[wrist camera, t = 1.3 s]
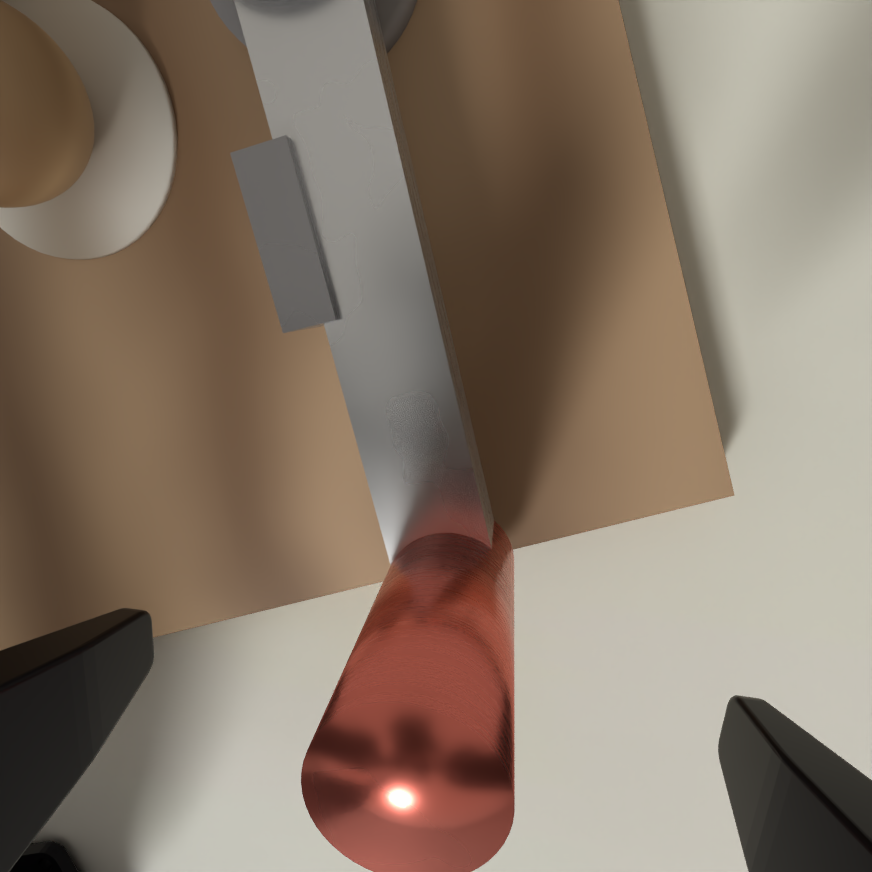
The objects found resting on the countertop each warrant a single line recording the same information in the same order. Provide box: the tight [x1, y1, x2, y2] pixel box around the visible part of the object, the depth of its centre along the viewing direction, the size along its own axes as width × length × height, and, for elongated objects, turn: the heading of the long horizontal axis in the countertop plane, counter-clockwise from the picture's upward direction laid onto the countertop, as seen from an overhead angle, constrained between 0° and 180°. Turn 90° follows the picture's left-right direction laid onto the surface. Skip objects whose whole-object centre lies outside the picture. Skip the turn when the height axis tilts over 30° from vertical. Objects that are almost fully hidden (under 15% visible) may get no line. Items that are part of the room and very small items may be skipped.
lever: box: [230, 0, 514, 872], centre depth 8 cm, size 15×3×6 cm, turn 14°
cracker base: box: [0, 0, 734, 650], centre depth 12 cm, size 20×17×4 cm
